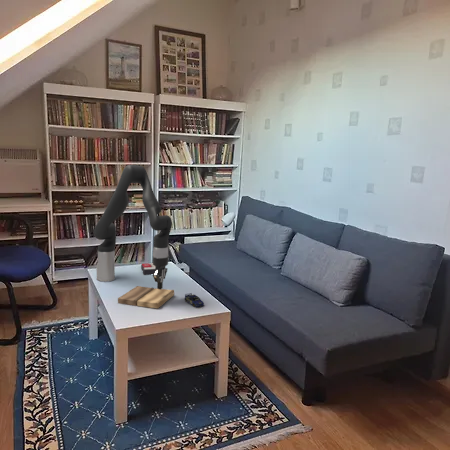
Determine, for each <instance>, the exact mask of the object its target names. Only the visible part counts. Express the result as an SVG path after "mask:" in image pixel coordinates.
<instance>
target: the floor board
mask: <svg viewBox="0 0 450 450" xmlns="http://www.w3.org/2000/svg"><path fill="white" fill-rule="evenodd" d="M153 289H155V287H147V286H140V285H137V286H135V287H134V288H132V289H130V290H129V291H127V292H126V293H124V294H122V295H121V296H120V297H117V304H120V305H127V306H135V307H138V306H137V301H138V300H139V299H141V298H142V297H144V296H145V295H146V294H148V293H149V292H151V291H152V290H153Z"/></svg>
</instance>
